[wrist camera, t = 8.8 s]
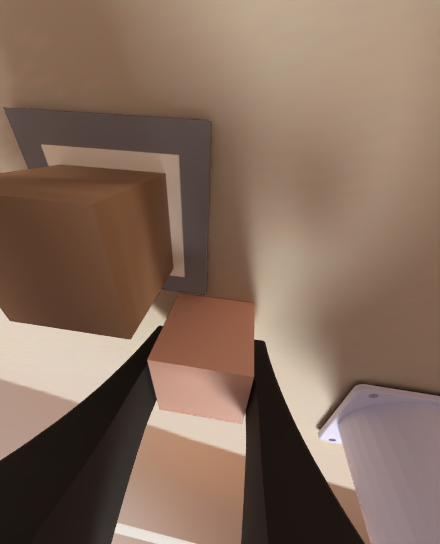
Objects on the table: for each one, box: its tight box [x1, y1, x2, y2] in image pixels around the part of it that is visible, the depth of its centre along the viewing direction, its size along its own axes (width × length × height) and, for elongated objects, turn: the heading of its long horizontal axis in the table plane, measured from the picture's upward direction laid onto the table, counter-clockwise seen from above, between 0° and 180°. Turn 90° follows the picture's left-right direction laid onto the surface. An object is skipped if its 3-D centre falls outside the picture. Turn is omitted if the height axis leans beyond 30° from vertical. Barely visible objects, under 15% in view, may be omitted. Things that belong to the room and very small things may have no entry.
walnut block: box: [0, 164, 174, 339], centre depth 7 cm, size 4×4×4 cm
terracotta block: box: [147, 294, 254, 424], centre depth 10 cm, size 4×4×4 cm
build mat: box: [3, 107, 211, 295], centre depth 9 cm, size 7×7×1 cm
